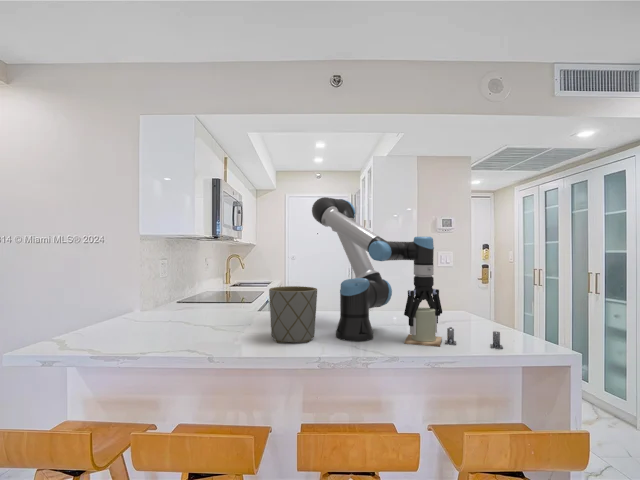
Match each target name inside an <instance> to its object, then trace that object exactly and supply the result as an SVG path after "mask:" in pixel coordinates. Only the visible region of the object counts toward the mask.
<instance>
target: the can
mask: <svg viewBox="0 0 640 480" xmlns="http://www.w3.org/2000/svg"><path fill="white" fill-rule="evenodd" d="M414 318H416V335H412V337H411V338H412V339H413V340H415V341H421V342H431V341H435V340H436V337H435V336H436V333H435V309H432V308H430V307H422V306H421V307H420V306H419V307H418V309H417V311H416V314H415V316H414Z"/></svg>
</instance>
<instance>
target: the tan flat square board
mask: <svg viewBox="0 0 640 480" xmlns="http://www.w3.org/2000/svg"><path fill="white" fill-rule="evenodd" d="M411 337H412V334H410V333H409V334H408V335H407V336H406V338H405V340H404V344H406V345H416V346H417V345H418V346H428V347H429V346H430V347H437V348H438V347H439V348H440V347H441V345H442V340H443V339H442V338H443V336H436V335H435V337H436V340H435V341H431V342H421V341H415V340H413V339H412V338H411Z"/></svg>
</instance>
